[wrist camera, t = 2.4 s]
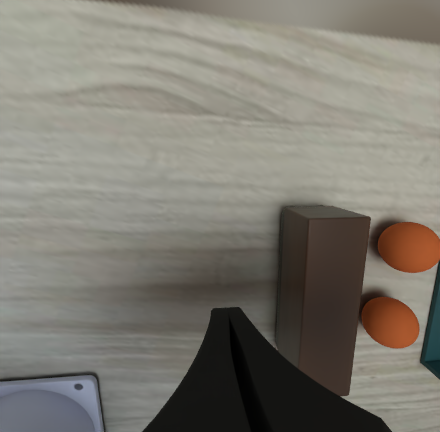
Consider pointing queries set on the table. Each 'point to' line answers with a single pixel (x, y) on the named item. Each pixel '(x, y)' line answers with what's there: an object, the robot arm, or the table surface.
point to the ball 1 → (409, 247)
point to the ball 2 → (390, 322)
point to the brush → (321, 291)
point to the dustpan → (433, 334)
